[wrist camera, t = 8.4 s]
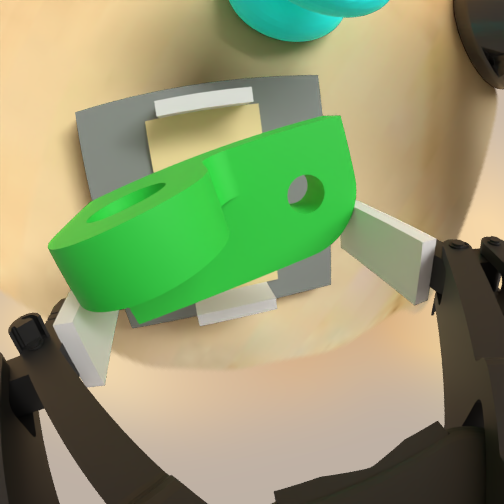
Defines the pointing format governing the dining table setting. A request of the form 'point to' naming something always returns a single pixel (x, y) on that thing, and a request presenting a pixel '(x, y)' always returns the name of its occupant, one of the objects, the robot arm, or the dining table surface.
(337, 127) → the mechanical part
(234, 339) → the dining table surface
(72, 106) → the dining table surface
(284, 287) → the grey square plate
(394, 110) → the dining table surface
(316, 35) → the donuts
